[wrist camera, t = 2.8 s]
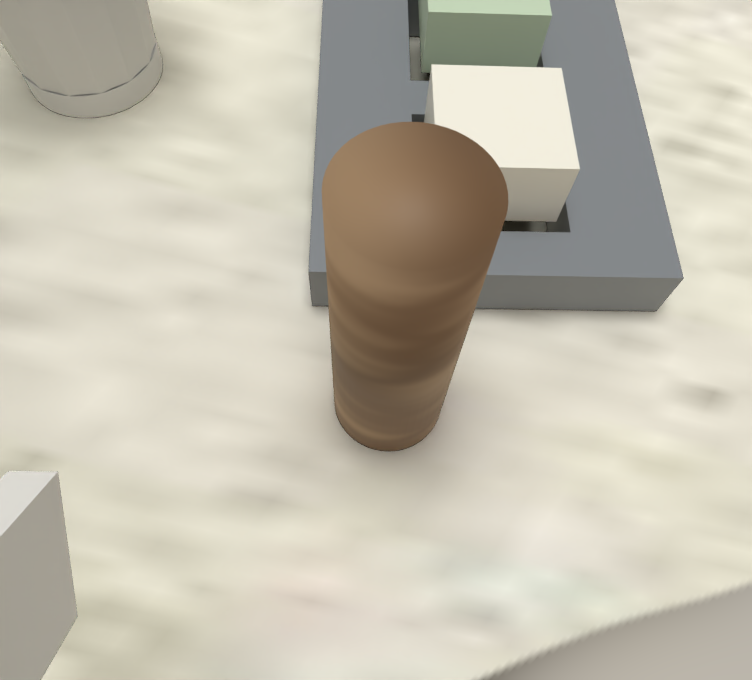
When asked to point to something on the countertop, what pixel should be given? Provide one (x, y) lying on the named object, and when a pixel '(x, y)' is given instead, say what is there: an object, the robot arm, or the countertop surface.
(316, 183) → the keypad
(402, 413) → the wooden pepper mill
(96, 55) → the cup
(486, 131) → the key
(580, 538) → the countertop surface
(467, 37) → the key mid
